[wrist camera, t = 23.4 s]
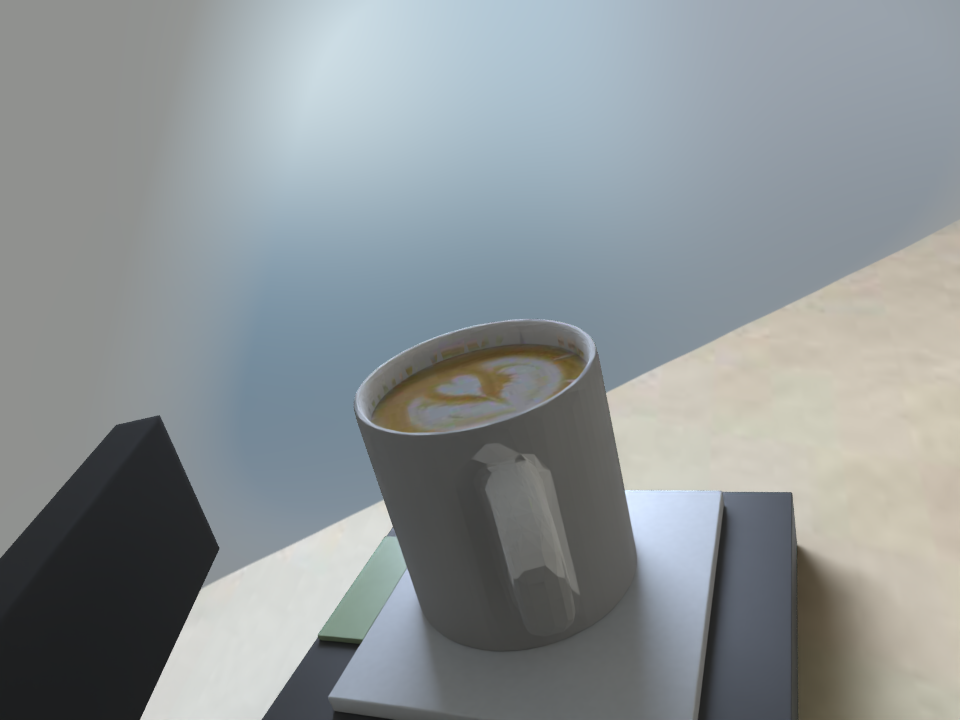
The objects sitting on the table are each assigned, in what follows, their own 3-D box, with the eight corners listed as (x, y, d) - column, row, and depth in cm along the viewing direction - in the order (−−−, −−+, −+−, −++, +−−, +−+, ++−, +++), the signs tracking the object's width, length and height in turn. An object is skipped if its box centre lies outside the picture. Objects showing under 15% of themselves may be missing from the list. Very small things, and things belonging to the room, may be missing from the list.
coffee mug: (429, 520, 40) (374, 346, 36) (621, 485, 39) (585, 301, 35) (393, 742, 28) (303, 515, 24) (671, 704, 27) (624, 457, 23)
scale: (283, 774, 32) (251, 709, 31) (431, 532, 46) (413, 478, 44) (799, 870, 24) (789, 789, 23) (796, 542, 38) (790, 477, 36)
